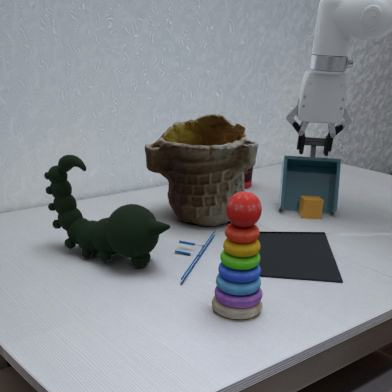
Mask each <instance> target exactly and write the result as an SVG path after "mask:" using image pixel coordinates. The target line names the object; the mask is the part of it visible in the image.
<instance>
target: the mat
mask: <svg viewBox="0 0 392 392" xmlns="http://www.w3.org/2000/svg"><path fill="white" fill-rule="evenodd" d="M259 231H260V230H259ZM257 240H258V241H259V242H260V250H259V252H258V253H259V255H260V262H259V266H260V268H261V273H260V276H259V277H260V278H261V277H262V278H273V279H274V278H275V279H289V280H300V281H314V282H327V283H344V280H343V277H342V275H341V272H340V269H339V267H338V264H337V261H336V258H335V256H334V254H333V250H332V248H331V245H330V243H329V240H328V236H327V234H326V232H325V231H263V230H262V231H260V234H259V237H258V238H257Z"/></svg>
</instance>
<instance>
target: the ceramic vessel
mask: <svg viewBox="0 0 392 392" xmlns="http://www.w3.org/2000/svg"><path fill="white" fill-rule="evenodd" d="M259 145H260V144H259V143H258V142H255V141H252V140H250V139H248V136H247V134H246V127H245V126H244V125H243V124H241V123H235V124H233V123H232V121H231V120H229V119H227V118H226V116H224V115H222V114H220V113H218V114H217V113H209V114H208V113H207V114H205V115H202V116H199V117H197V118H196V119H188V120H186V121H176V122H173V124H172V126H169V127H168V128H166V130H165V131H164V132H163V133H162V135H160V137H159V138H157V140H156V141H154V142H153V143H149V144H147V143H146V144H145V145H144V153H145V165H146V169H147V170H148V171H149V172H152V173H155V174H160V175H161V176H162V177H164V178H165V179H166V180H167V182H168V190H167V200H168V204H169V206H170V209H171V210H172V213H173V214H174V216H175V217H176V218H177V220H179V221H182V222H184V223H185V222H186V223H190V224H194V225H198V226H202V227H217V226H221V225H222V226H223V225H226V223H228V222H230V221H229V219H228V217H227V214H226V206H227V203H228V201H229V199H230V198H231V197H232V196H233V195H234V194H236V193H238V192H242V191H246V189H244V171H245V170H247V169H250V168H251V167H253V168H254V167H255V165H256V162H257V154H258V149H259Z"/></svg>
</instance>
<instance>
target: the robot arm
mask: <svg viewBox="0 0 392 392" xmlns="http://www.w3.org/2000/svg"><path fill="white" fill-rule="evenodd" d="M390 33H392V0H319V2H318V8H317V15H316V22H315V29H314V35H313V40H312V41H313V42H312V43H313V44H312V49H311V55H310V61H309V69H308V70H305V71H304V73H303V77H302V81H301V85H300V89H299V93H298V98H297V104H296V105H295V106H294V107H293V108H292V109H291V110H290V111H289V113H287V115H286V116H285V119H286V121H287V122H288V123H289V124H290V125H291V127H293V129H294V130H295V131H296V133H297V134H298V136H297V141H296V150H298V153H299V155H303V154H304V151H305V146H306V145H305V138H306V137H307V136H306V130H307V128H308V126H309V123H313V124H327V130H328V131H327V132H328V133H327V134H326V136H325V138H326V143H325V146H323V150H322V154H323V155H324V156H325V157H328V156H329V153H330V152H332V149H333V142H334V138H336V137H337V135H338V134H340V133H341V132H342V131H343V130H344V129H346V128H347V127H349V126H351V124H352V123H353V120H352V118H351V116H350V114H349V113H348V111H347V109H346V101H347V100H346V98H347V90H348V73H345V72H346V71H347V69H349V68H353V66H354V60H351V59H349V57H348V55H349V50H350V44H351V39H352V38H357V39H359V40H364V41H374V40H379V39H381V38H384V37H385V36H386V35H388V34H390ZM295 116H296V118H297V119H298V120H299V121H300V124H299V123H298V121H296V119H295ZM336 124H337V125H336Z"/></svg>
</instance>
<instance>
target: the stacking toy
mask: <svg viewBox="0 0 392 392" xmlns="http://www.w3.org/2000/svg"><path fill="white" fill-rule="evenodd" d="M262 211H263V205H262V203H261V200H260V199H259V197H258V196H257V195H256V194H255V193H253V192H251V191H246V190H245V191H242V192H238V193H236V194H234V195H233V196H232V197H231V198H230V199H229V201H228V203H227V206H226V214H227V217H228V219H229V221H228V222H230V223H228V224H227V225H226V227H225V229H224V235H225V237H226V238H225V239H224V241H223V244H222V247H223V250H222V251H221V253H220V257H219V258H220V262H219V264H218V268H217V269H218V274H217V275H216V277H215V284H216V286H215V288H214V296H213V297H212V300H211V306H212V308H213V310H214V311H215V313H217V314H218V315H219V316H222V317H224V318H227V319H231V320H248V319H251V318H254V317H256V316H257V315H258V314H260V313H261V311H262V310H263V302H262V298H263V290H262V288H261V286H262V278H261V277H259V276H260V273H261V268H260V266H259V262H260V255H259V253H258V252H259V250H260V242H259V241H258V240H257V238H258V237H259V234H260V229H259V226H258V225H256V224H257V223H258V221H259V220H260V218H261V216H262Z"/></svg>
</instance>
